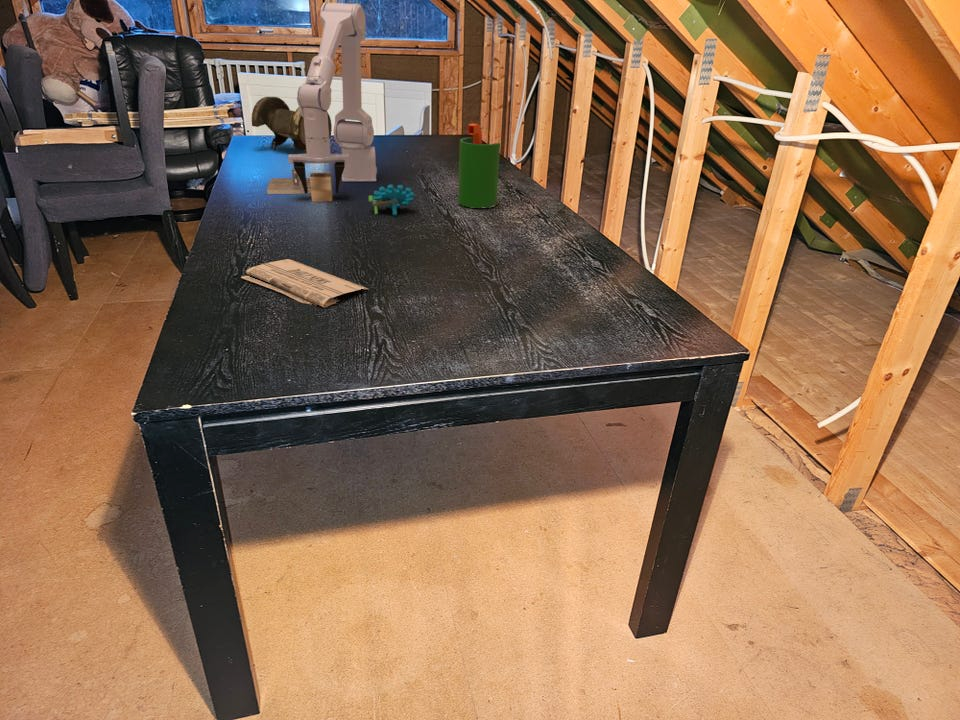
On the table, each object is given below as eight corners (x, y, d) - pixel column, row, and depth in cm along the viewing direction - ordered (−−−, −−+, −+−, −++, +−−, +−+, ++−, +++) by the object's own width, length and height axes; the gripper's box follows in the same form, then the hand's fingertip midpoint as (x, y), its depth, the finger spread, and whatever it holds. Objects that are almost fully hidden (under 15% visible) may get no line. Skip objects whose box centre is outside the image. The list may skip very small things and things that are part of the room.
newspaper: (238, 281, 121) (237, 268, 120) (292, 270, 130) (291, 258, 129) (318, 316, 109) (318, 302, 108) (372, 301, 118) (372, 288, 117)
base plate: (331, 181, 182) (329, 162, 179) (330, 193, 172) (329, 173, 169) (271, 182, 179) (269, 162, 177) (267, 194, 169) (264, 173, 166)
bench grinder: (292, 152, 196) (310, 85, 193) (242, 138, 206) (259, 74, 203) (336, 171, 214) (353, 110, 211) (288, 157, 224) (304, 99, 221)
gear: (417, 200, 163) (410, 179, 153) (418, 222, 161) (412, 202, 152) (373, 205, 163) (364, 184, 154) (374, 226, 162) (365, 207, 152)
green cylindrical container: (501, 203, 170) (506, 122, 160) (487, 211, 163) (491, 128, 153) (466, 197, 173) (468, 118, 164) (451, 205, 166) (452, 123, 156)
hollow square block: (332, 195, 170) (330, 172, 167) (332, 201, 165) (330, 177, 163) (312, 196, 169) (310, 172, 166) (311, 201, 165) (309, 177, 162)
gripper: (285, 140, 155) (291, 196, 162) (347, 140, 158) (350, 196, 164) (287, 134, 161) (293, 189, 168) (347, 134, 164) (350, 188, 170)
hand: (321, 192), depth 166 cm, fingers open, 7 cm apart
